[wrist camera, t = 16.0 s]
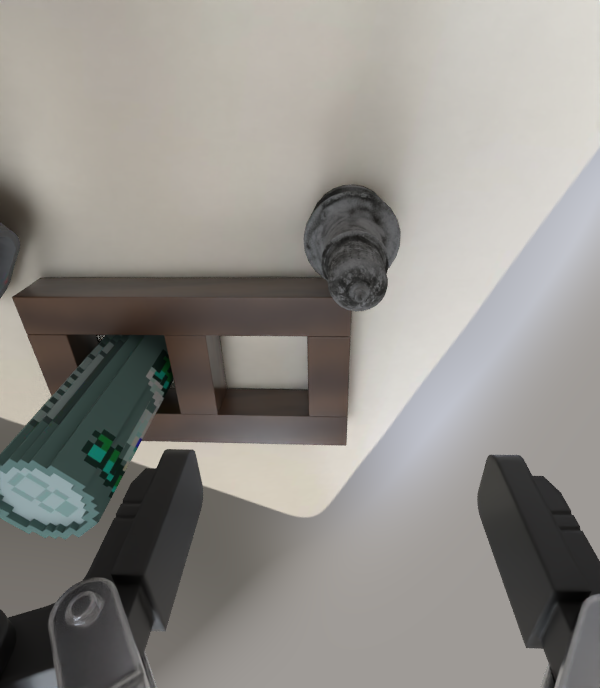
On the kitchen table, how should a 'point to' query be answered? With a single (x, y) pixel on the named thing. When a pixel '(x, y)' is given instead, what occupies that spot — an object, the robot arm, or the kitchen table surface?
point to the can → (84, 438)
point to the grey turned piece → (352, 245)
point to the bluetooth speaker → (7, 256)
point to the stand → (204, 349)
